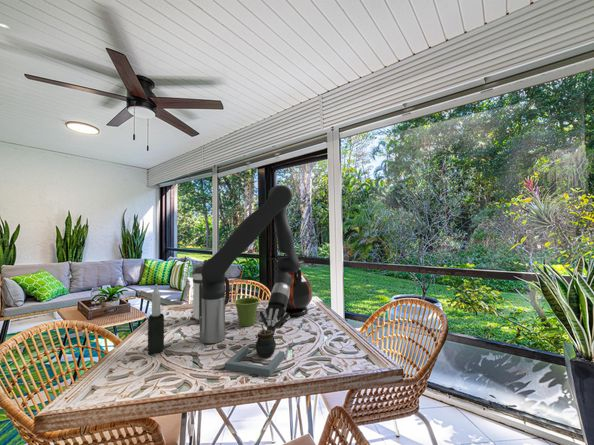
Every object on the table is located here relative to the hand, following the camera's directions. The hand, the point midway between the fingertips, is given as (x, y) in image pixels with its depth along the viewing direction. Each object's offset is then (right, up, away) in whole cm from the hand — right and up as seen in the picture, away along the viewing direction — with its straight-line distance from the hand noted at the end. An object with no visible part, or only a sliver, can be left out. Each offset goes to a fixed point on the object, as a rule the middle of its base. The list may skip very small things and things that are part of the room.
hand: (269, 337), depth 105 cm
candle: (-42, -5, 0) cm, 43 cm away
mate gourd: (-1, -5, -3) cm, 6 cm away
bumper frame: (-3, -5, -9) cm, 11 cm away
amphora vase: (+8, -6, +47) cm, 48 cm away
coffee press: (-35, -6, +37) cm, 51 cm away
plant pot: (-13, -6, +29) cm, 32 cm away
